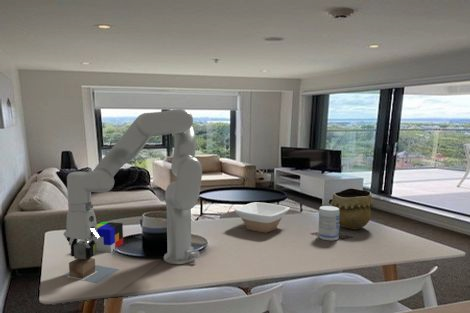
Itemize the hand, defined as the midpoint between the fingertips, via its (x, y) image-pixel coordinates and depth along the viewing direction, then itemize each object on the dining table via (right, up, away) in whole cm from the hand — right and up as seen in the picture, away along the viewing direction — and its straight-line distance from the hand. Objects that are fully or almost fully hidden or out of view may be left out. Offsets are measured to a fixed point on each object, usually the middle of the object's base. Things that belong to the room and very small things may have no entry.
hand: (82, 255), depth 123 cm
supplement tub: (+100, -4, +43) cm, 108 cm away
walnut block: (0, -7, +1) cm, 7 cm away
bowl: (+69, -2, +58) cm, 90 cm away
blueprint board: (+2, -7, +2) cm, 8 cm away
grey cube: (0, -1, +1) cm, 2 cm away
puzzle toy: (-2, -5, +29) cm, 29 cm away
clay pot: (+116, -2, +58) cm, 129 cm away
